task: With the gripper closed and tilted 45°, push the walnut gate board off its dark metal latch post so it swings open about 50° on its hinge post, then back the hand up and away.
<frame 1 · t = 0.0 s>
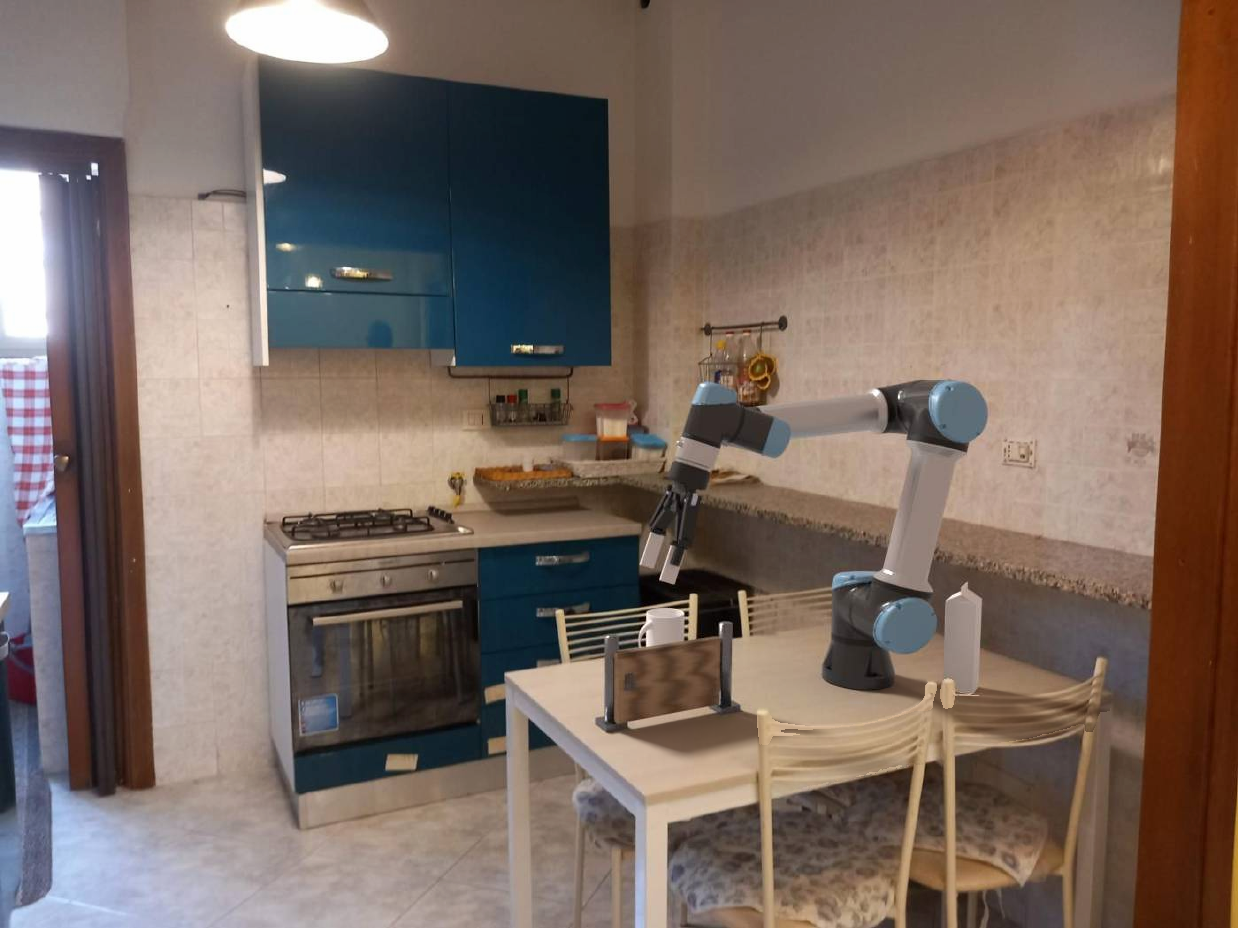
hand: (656, 574, 173), 28 cm above the table, tool tilted 20°, fingers open, 13 cm apart
milk: (960, 689, 193), on the table
mug: (659, 660, 212), on the table
gate: (668, 678, 174), point 8 cm above the table, hinge at 0.0°
gate frame: (724, 708, 181), on the table
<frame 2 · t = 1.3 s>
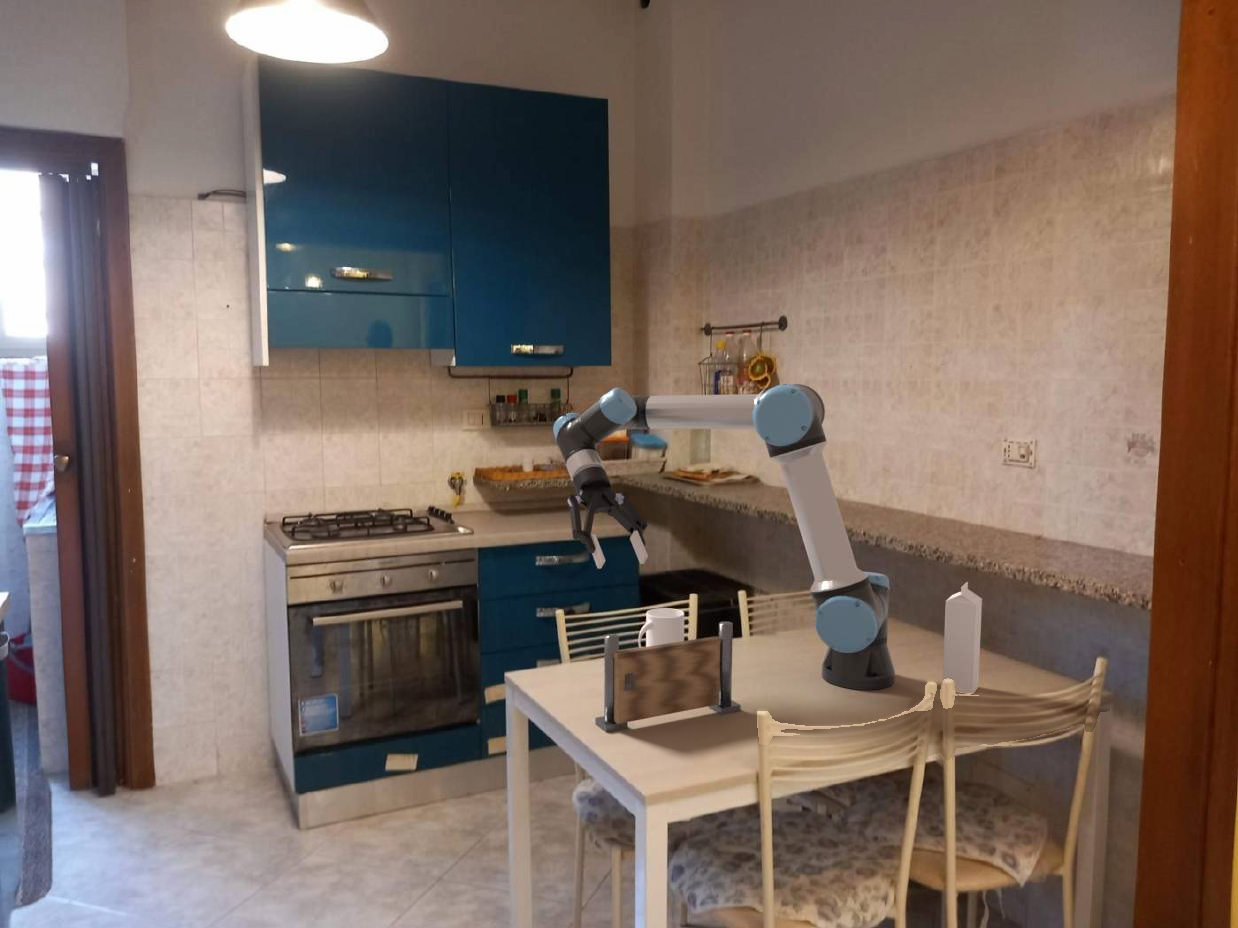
hand: (623, 562, 188), 27 cm above the table, tool tilted 45°, fingers open, 9 cm apart
nothing on the table moved.
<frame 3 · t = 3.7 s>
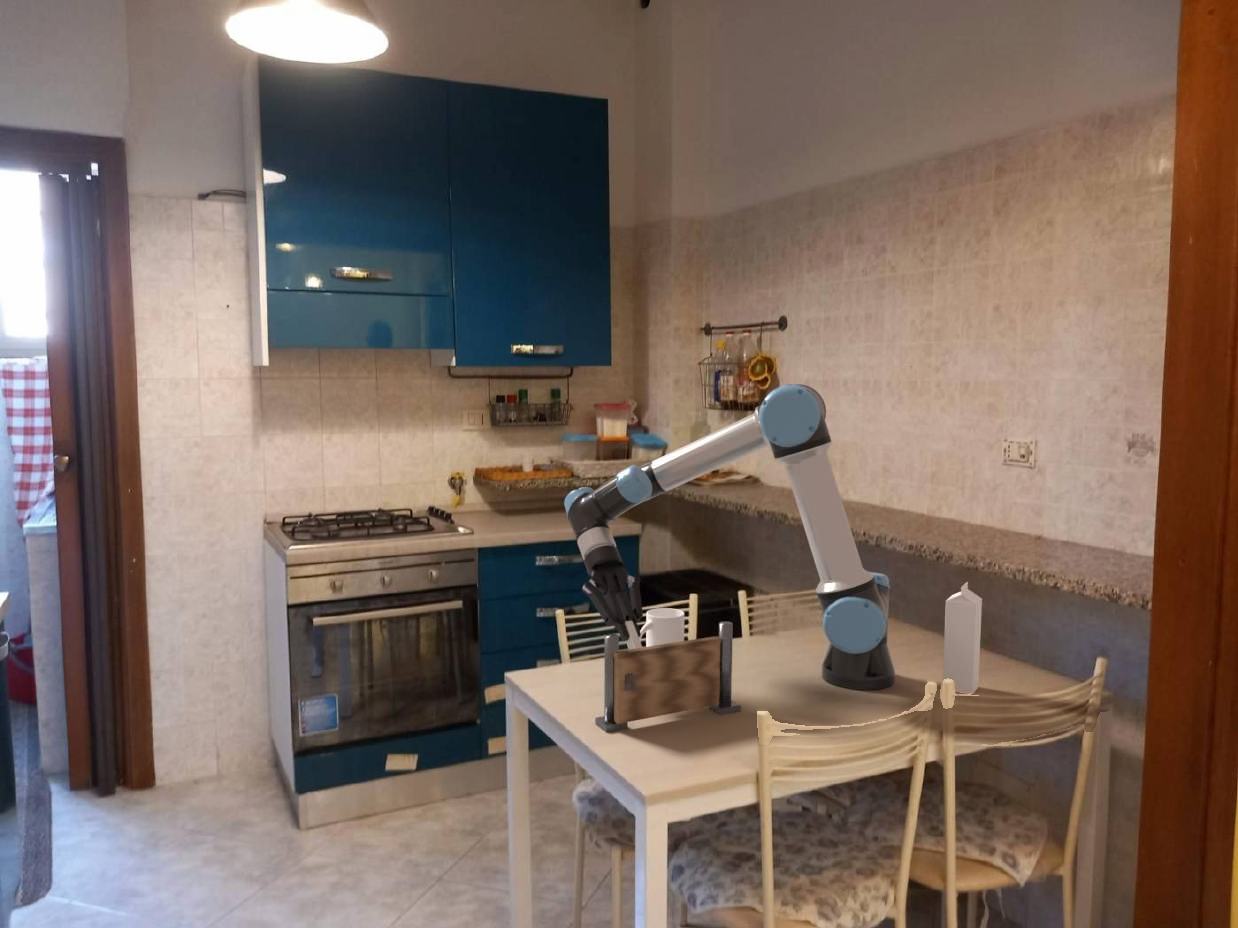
hand: (637, 653, 183), 10 cm above the table, tool tilted 45°, fingers closed
nothing on the table moved.
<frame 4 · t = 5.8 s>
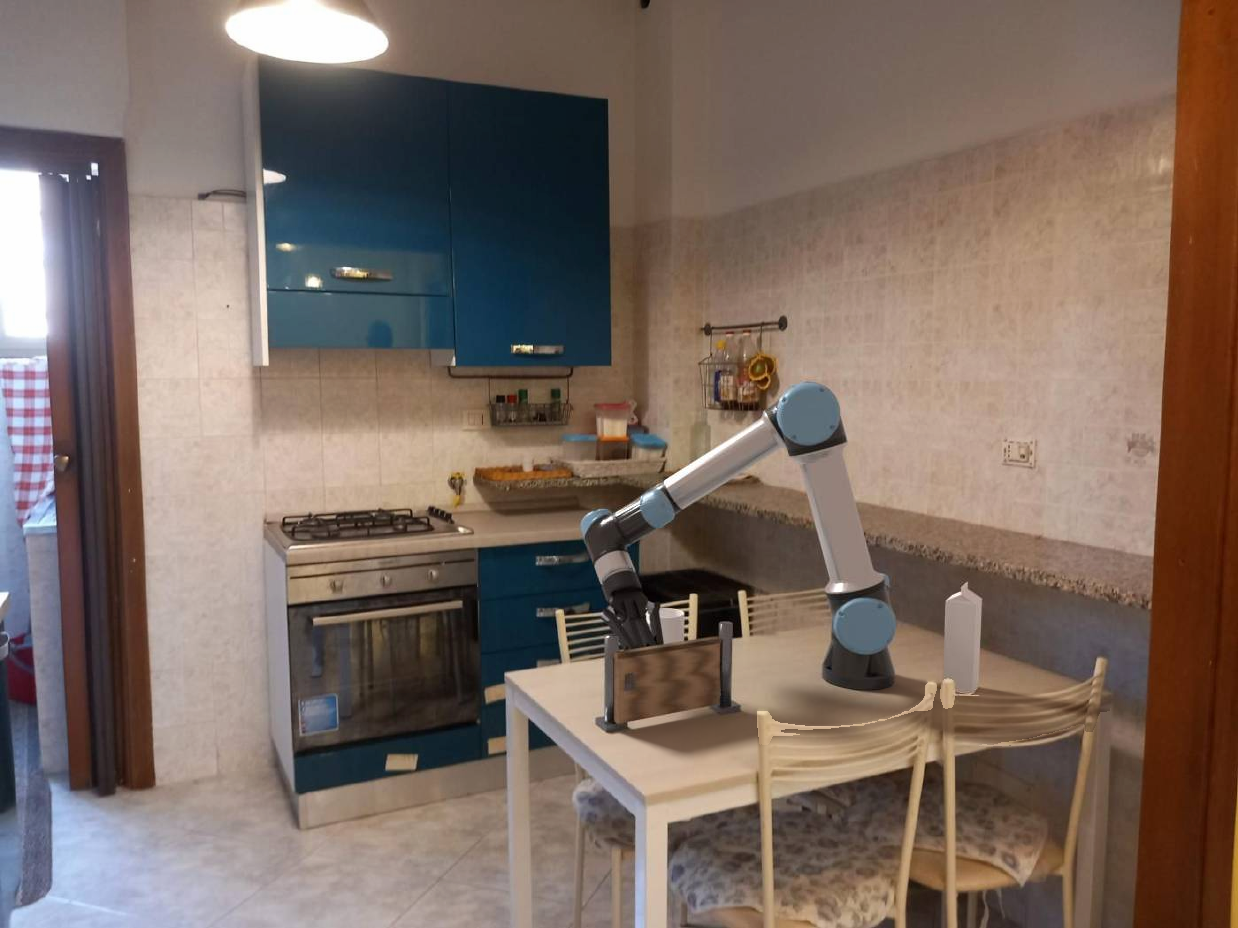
hand: (658, 683, 176), 7 cm above the table, tool tilted 45°, fingers closed
gate: (668, 678, 174), point 8 cm above the table, hinge at 0.0°, touching gripper
everything else where it was.
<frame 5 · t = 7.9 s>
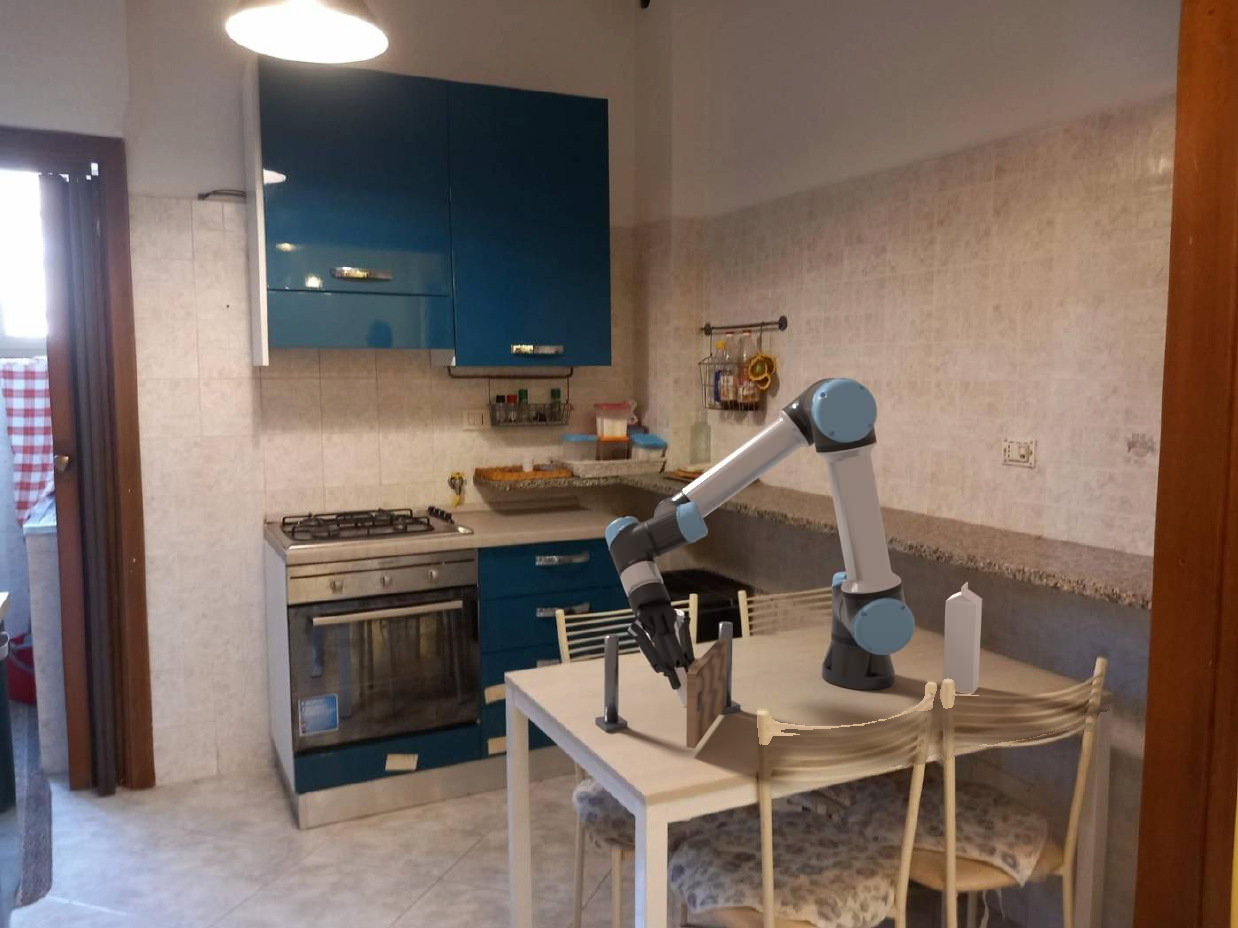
hand: (690, 703, 166), 6 cm above the table, tool tilted 45°, fingers closed
gate: (708, 689, 169), point 8 cm above the table, hinge at 41.8°
everything else where it was.
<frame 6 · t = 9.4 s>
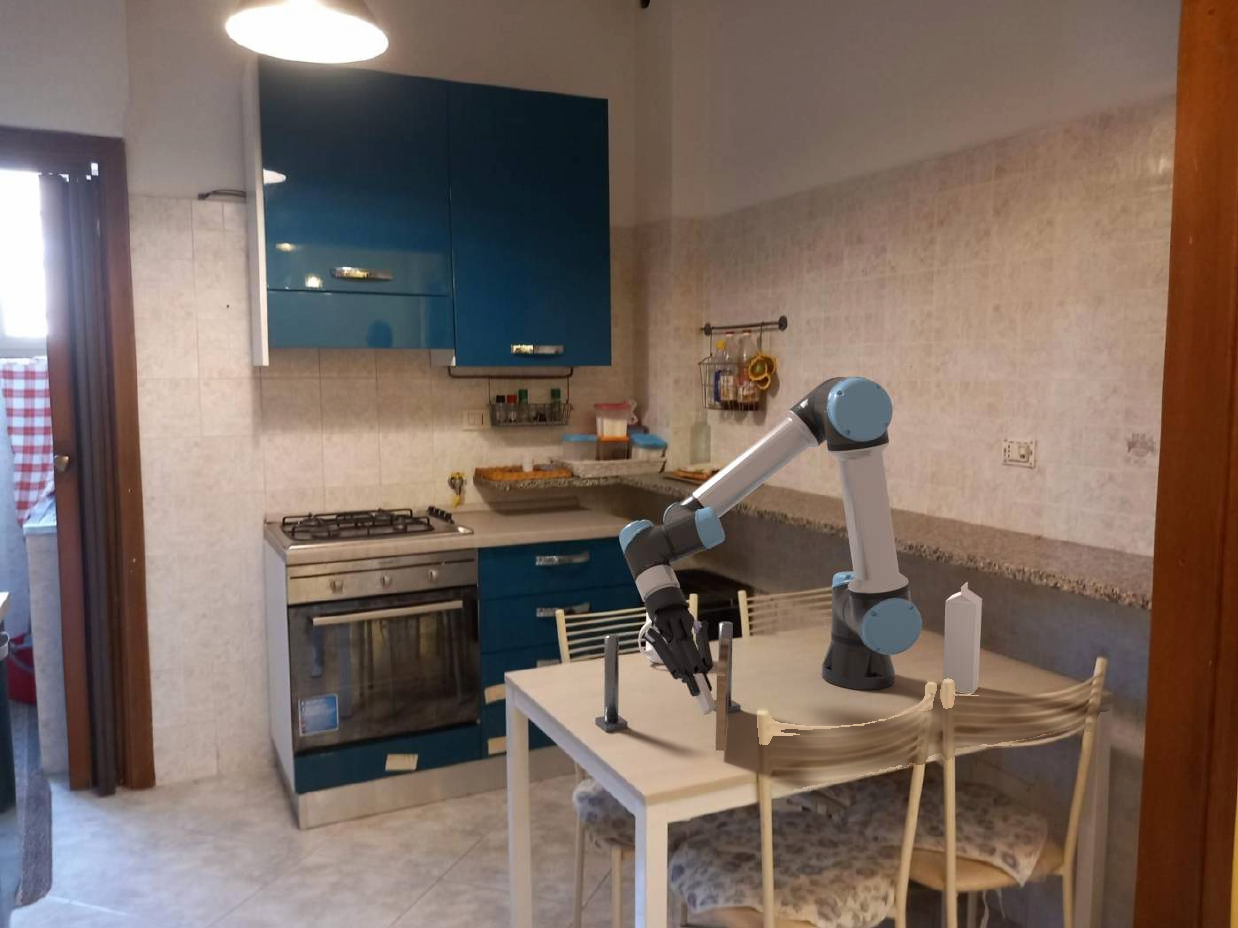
hand: (709, 710, 162), 7 cm above the table, tool tilted 45°, fingers closed
gate: (723, 691, 168), point 8 cm above the table, hinge at 54.0°, touching gripper
everything else where it was.
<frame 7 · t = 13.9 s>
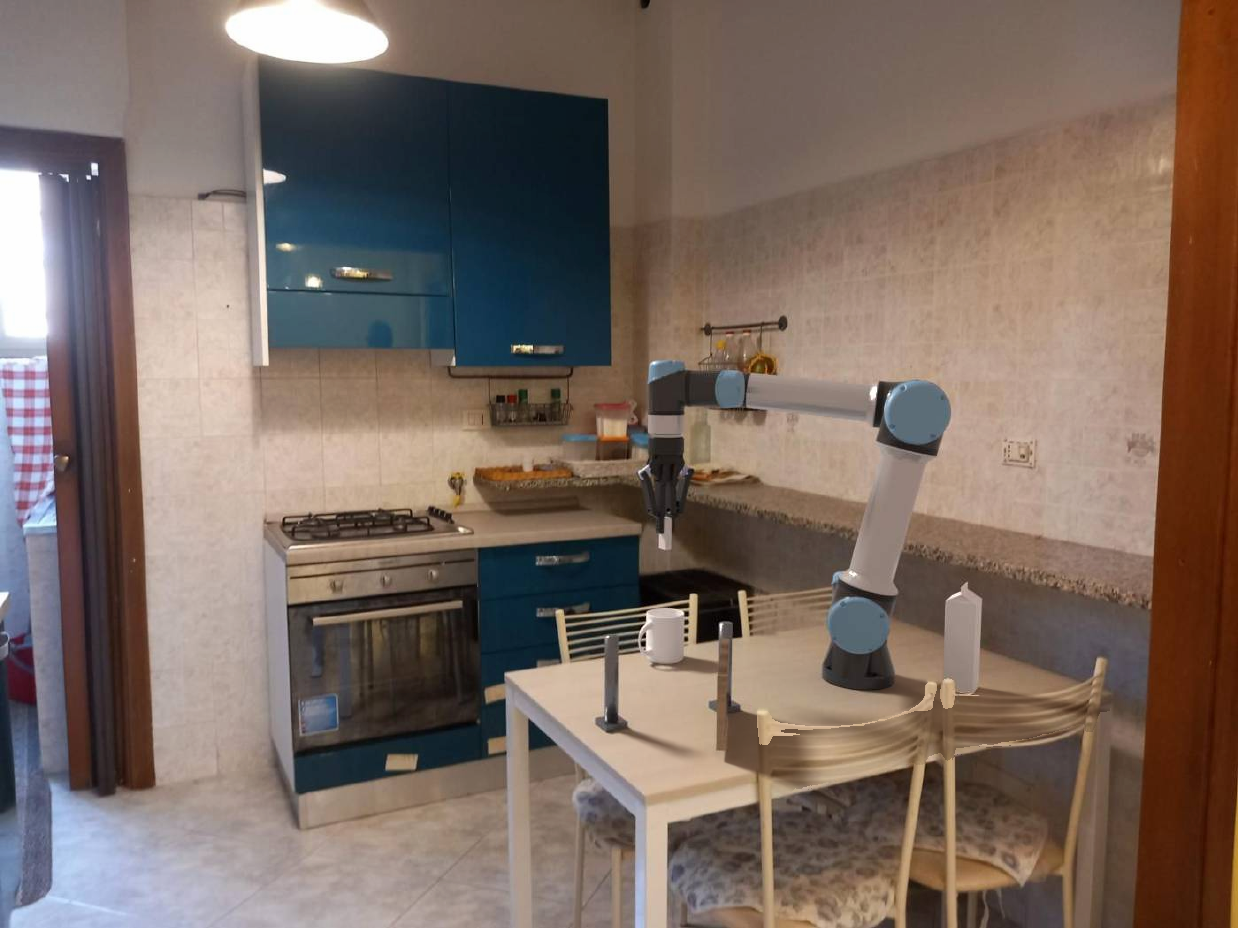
hand: (665, 548, 195), 28 cm above the table, tool pointing down, fingers closed
gate: (724, 691, 168), point 8 cm above the table, hinge at 54.2°
everything else where it was.
at the end: gate at +54° (first picture: +0°); mug moved 0.2 cm from its start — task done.
